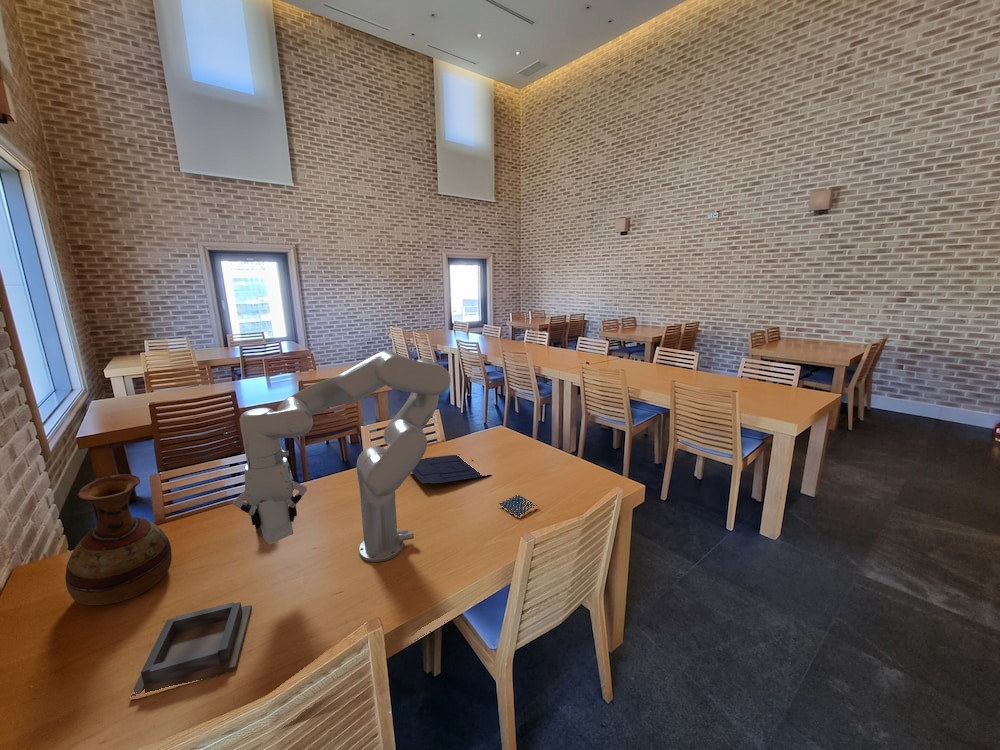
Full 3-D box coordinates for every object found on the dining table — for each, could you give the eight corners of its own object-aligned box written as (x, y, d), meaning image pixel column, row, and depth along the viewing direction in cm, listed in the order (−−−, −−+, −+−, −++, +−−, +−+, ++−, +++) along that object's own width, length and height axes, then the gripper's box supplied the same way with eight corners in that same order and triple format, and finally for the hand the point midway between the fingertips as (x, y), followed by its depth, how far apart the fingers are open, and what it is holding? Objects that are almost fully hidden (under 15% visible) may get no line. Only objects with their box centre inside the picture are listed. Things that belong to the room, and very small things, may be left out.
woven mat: (518, 521, 133) (518, 516, 132) (497, 508, 140) (497, 503, 140) (539, 510, 140) (539, 505, 139) (518, 498, 147) (518, 493, 147)
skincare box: (287, 528, 106) (280, 487, 103) (294, 534, 103) (287, 492, 100) (261, 539, 102) (254, 497, 99) (268, 546, 99) (261, 503, 96)
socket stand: (251, 608, 96) (249, 594, 95) (235, 670, 81) (233, 654, 80) (165, 629, 90) (161, 615, 89) (130, 701, 75) (125, 684, 74)
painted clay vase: (86, 629, 90) (53, 511, 83) (61, 593, 100) (30, 485, 94) (188, 577, 106) (168, 474, 99) (157, 550, 117) (137, 455, 110)
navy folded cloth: (402, 467, 168) (402, 458, 167) (465, 459, 184) (466, 452, 183) (422, 492, 147) (423, 483, 147) (492, 481, 163) (493, 473, 163)
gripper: (305, 446, 104) (313, 507, 108) (227, 458, 98) (239, 522, 102) (303, 458, 97) (312, 522, 101) (218, 472, 91) (232, 539, 95)
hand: (275, 522), depth 101 cm, fingers closed on skincare box, 7 cm apart
